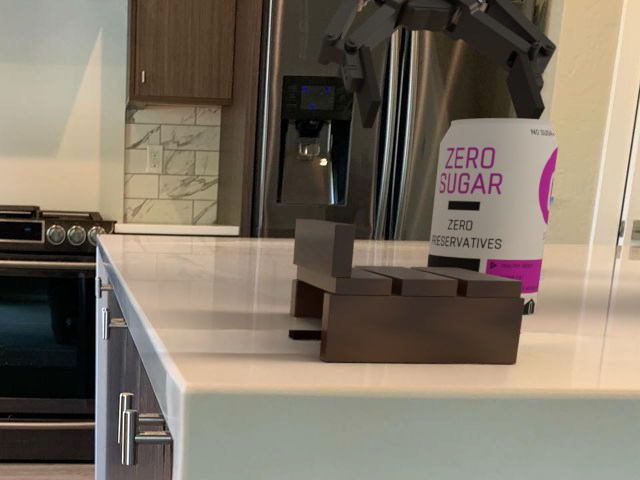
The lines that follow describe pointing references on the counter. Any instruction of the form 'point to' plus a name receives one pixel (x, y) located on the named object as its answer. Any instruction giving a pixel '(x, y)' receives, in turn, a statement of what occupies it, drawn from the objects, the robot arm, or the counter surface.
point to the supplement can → (494, 199)
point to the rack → (399, 306)
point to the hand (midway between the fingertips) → (453, 118)
